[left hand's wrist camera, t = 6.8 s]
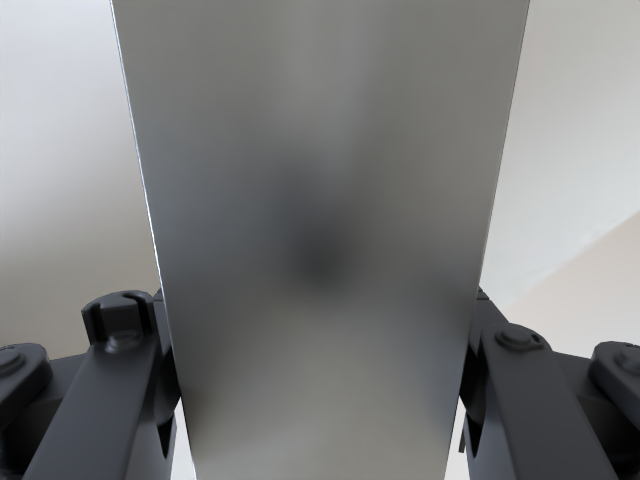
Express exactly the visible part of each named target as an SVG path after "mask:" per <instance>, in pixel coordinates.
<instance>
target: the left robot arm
mask: <svg viewBox="0 0 640 480" xmlns="http://www.w3.org/2000/svg"><path fill="white" fill-rule="evenodd" d="M81 313H82V317H83V320H84V324H85V327H86V331H87V335H88V338H89V342H90V347H89V349H88V351H87V353H84V354H80V355H76V356H70V357H65V358H60V359H55V360H50V361H49V358H48V355H47V352H46V349H45V348H44V347H42V346H41V345H40V344H33V343H24V344H14V345H9V346H7V347H6V346H5V347H2V348H0V480H170V477H171V469H172V461H173V454H174V446H175V438H176V430H177V425H176V419H175V413H174V410H175V408H176V406H177V403H178V401H179V399H180V397H181V395H180V389H179V384H178V378H177V372H176V367H175V361H174V356H173V350H172V344H171V339H170V333H169V328H168V322H167V317H166V311H165V305H164V300H163V294H162V289H161V288H160V289H159V290H158V291H157V294H155V295H154V296H153V297H152V296H151V295H149V294H148V293H147V292H143V291H138V290H132V291H121V292H115V293H111V294H108V295H105V296H102V297H100V298H97V299H96V300H94V301H92V302H90V303H89V304H87V305H86V306H85V307H84V308H83V309H82V310H81ZM459 396H460V398H461V400H462V402H463V404H464V406H465V408H466V413H465V419H464V424H463V429H462V434H461V439H460V445H459V452H460V453H464V449H465V445H466V452H467V460H468V468H469V476H470V480H640V346H638V345H633V344H630V343H626V342H615V341H608V342H601V343H599V344H598V345H597V346H596V347H595V348H594V351H593V354H592V357H591V359H588V358H583V357H578V356H573V355H568V354H563V353H558V352H554V351H552V349H551V347H550V345H549V344H548V342H547V341H546V340H545V339H544V338H543V337H542V336H541V335H539V334H538V333H536V332H535V331H533V330H531V329H528V328H526V327H524V326H521V325H517V324H513V323H509V322H508V320H507V319H506V318H505V317H504V316H503V314H502V313H501V312H500V311H499V310H498V308H497V307H496V306H495V305H494V303H493V302H492V301H491V300H489V297H488V296H487V295H486V294H485V292H483V290H482V289H481V288H480V286H479V287H478V293H477V298H476V304H475V310H474V315H473V321H472V326H471V332H470V338H469V343H468V349H467V354H466V360H465V365H464V371H463V377H462V382H461V388H460V393H459Z"/></svg>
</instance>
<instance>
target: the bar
mask: <svg viewBox="0 0 640 480" xmlns="http://www.w3.org/2000/svg"><path fill="white" fill-rule="evenodd" d="M529 3H530V0H110V4H111V10H112V15H113V21H114V26H115V32H116V38H117V43H118V49H119V54H120V60H121V65H122V71H123V77H124V82H125V88H126V93H127V99H128V105H129V110H130V116H131V121H132V127H133V132H134V138H135V144H136V149H137V155H138V160H139V166H140V171H141V177H142V183H143V188H144V194H145V199H146V205H147V211H148V216H149V222H150V227H151V233H152V238H153V244H154V250H155V255H156V261H157V266H158V272H159V278H160V283H161V289H162V294H163V300H164V305H165V311H166V317H167V322H168V328H169V333H170V339H171V344H172V350H173V356H174V361H175V367H176V372H177V378H178V384H179V389H180V395H181V400H182V406H183V411H184V417H185V423H186V428H187V434H188V439H189V445H190V451H191V456H192V462H193V467H194V473H195V478H196V480H444V477H445V472H446V466H447V460H448V455H449V449H450V444H451V438H452V432H453V427H454V421H455V416H456V410H457V405H458V399H459V393H460V388H461V382H462V377H463V371H464V365H465V360H466V354H467V349H468V343H469V338H470V332H471V326H472V321H473V315H474V310H475V304H476V298H477V293H478V287H479V282H480V276H481V271H482V265H483V259H484V254H485V248H486V243H487V237H488V231H489V226H490V220H491V215H492V209H493V204H494V198H495V192H496V187H497V181H498V176H499V170H500V164H501V159H502V153H503V148H504V142H505V137H506V131H507V125H508V120H509V114H510V109H511V103H512V97H513V92H514V86H515V81H516V75H517V70H518V64H519V58H520V53H521V47H522V42H523V36H524V31H525V25H526V19H527V14H528V8H529Z"/></svg>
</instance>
